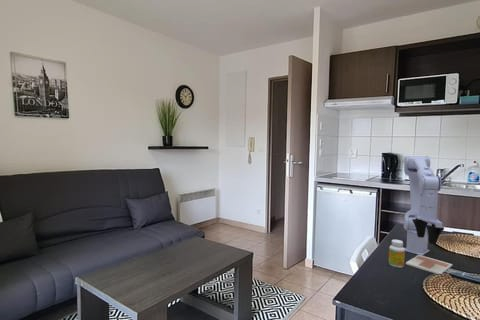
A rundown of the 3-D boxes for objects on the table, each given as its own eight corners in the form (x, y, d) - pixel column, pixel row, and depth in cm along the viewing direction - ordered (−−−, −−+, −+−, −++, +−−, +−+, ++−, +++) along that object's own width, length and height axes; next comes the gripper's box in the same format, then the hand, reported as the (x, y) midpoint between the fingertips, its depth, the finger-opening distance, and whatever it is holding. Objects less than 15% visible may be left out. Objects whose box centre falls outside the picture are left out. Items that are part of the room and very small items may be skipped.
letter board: (418, 256, 122) (418, 254, 122) (452, 265, 113) (452, 264, 113) (405, 264, 114) (405, 262, 114) (440, 275, 104) (440, 273, 104)
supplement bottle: (388, 266, 111) (389, 241, 111) (388, 261, 116) (389, 238, 116) (404, 269, 109) (405, 244, 108) (403, 263, 114) (404, 240, 113)
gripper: (407, 202, 118) (406, 234, 119) (429, 210, 104) (427, 246, 104) (425, 202, 118) (423, 234, 119) (449, 211, 103) (446, 247, 104)
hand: (426, 240), depth 111 cm, fingers open, 7 cm apart
